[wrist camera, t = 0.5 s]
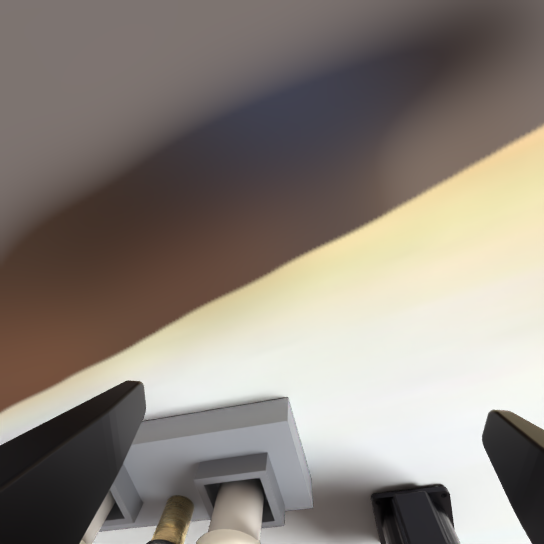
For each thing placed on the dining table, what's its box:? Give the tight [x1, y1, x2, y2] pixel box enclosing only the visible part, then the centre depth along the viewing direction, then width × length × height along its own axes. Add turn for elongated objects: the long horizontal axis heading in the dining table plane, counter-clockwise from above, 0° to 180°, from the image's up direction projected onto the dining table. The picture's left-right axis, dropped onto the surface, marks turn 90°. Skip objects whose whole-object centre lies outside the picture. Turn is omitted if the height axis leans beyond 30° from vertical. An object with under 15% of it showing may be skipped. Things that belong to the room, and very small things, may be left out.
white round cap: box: [196, 478, 265, 544], centre depth 21 cm, size 5×5×6 cm
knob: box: [79, 490, 116, 544], centre depth 22 cm, size 5×5×6 cm
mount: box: [99, 398, 313, 532], centre depth 25 cm, size 9×21×4 cm, turn 105°
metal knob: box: [146, 495, 194, 544], centre depth 23 cm, size 3×3×4 cm
